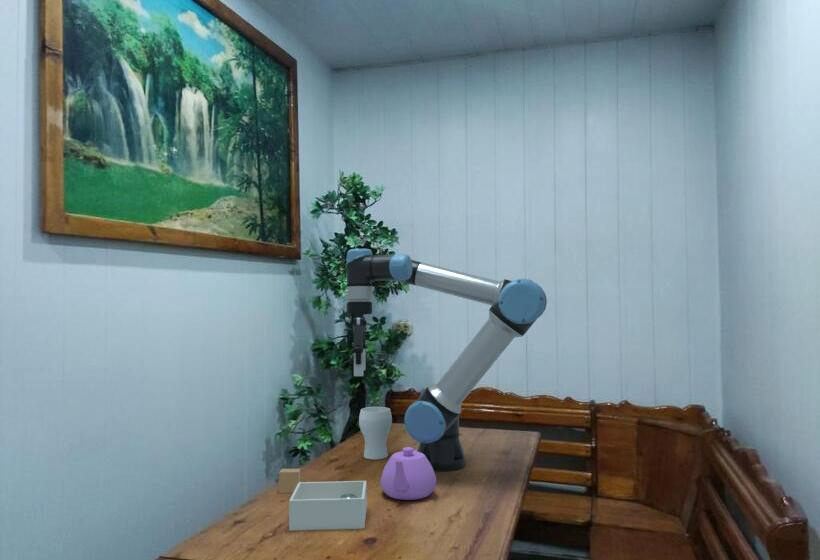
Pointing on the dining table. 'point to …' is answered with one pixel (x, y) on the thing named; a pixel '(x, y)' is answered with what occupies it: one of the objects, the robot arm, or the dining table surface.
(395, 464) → the teapot
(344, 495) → the slug
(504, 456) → the dining table surface
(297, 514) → the tub
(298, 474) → the lid
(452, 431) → the robot arm
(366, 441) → the cup
